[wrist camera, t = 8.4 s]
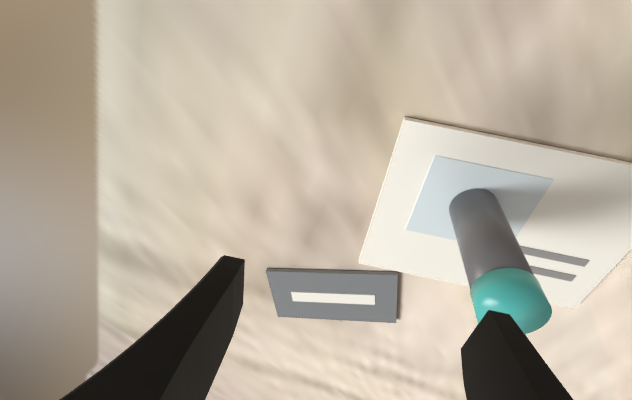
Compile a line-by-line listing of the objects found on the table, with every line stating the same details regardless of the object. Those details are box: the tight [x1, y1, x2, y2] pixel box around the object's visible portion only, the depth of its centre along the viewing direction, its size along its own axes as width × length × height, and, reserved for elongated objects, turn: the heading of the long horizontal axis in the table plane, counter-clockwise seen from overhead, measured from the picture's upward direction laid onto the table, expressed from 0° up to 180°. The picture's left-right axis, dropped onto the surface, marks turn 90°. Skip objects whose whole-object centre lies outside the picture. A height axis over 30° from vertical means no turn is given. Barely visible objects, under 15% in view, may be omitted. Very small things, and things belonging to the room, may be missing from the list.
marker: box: [449, 188, 552, 334], centre depth 16 cm, size 3×3×7 cm
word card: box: [266, 268, 398, 323], centre depth 25 cm, size 9×5×1 cm, turn 96°
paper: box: [359, 117, 632, 309], centre depth 20 cm, size 14×10×1 cm
